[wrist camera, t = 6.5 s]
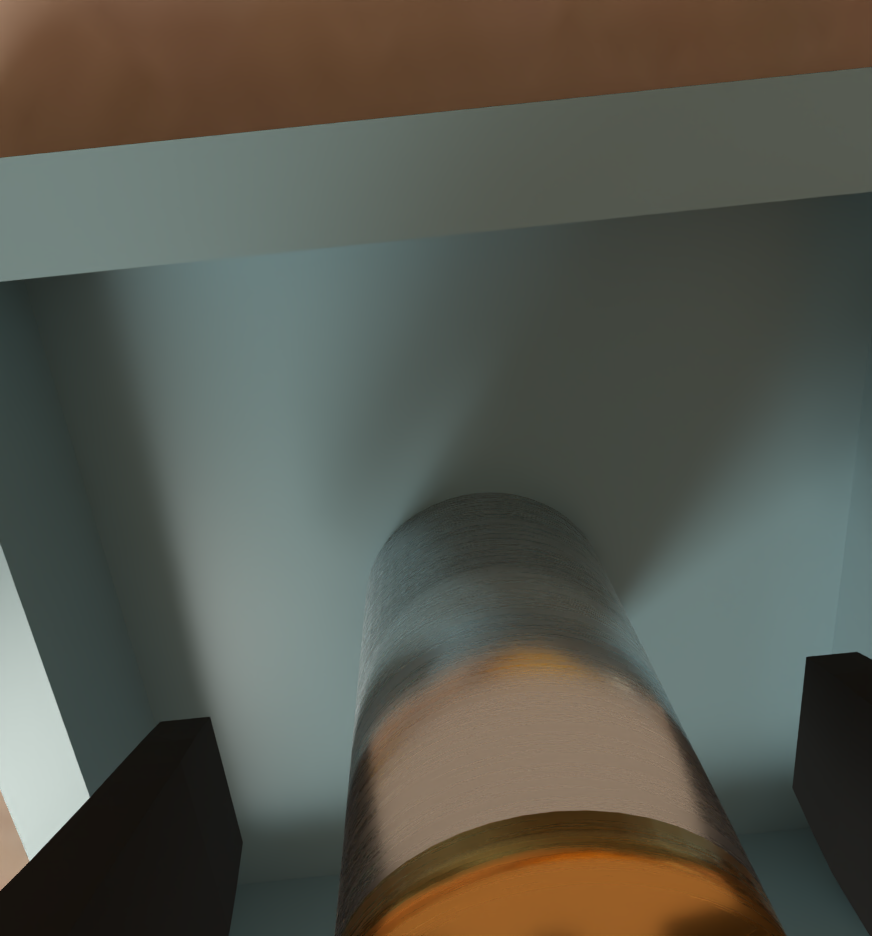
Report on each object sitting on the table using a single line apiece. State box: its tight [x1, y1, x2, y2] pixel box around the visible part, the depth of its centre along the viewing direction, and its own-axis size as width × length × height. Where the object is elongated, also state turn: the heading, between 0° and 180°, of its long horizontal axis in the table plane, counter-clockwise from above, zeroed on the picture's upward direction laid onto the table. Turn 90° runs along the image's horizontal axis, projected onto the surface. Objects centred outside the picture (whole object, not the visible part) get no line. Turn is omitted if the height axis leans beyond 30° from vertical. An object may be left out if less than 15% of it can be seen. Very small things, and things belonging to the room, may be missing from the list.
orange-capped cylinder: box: [335, 493, 787, 936], centre depth 9 cm, size 4×4×7 cm
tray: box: [0, 67, 872, 936], centre depth 12 cm, size 14×14×3 cm
